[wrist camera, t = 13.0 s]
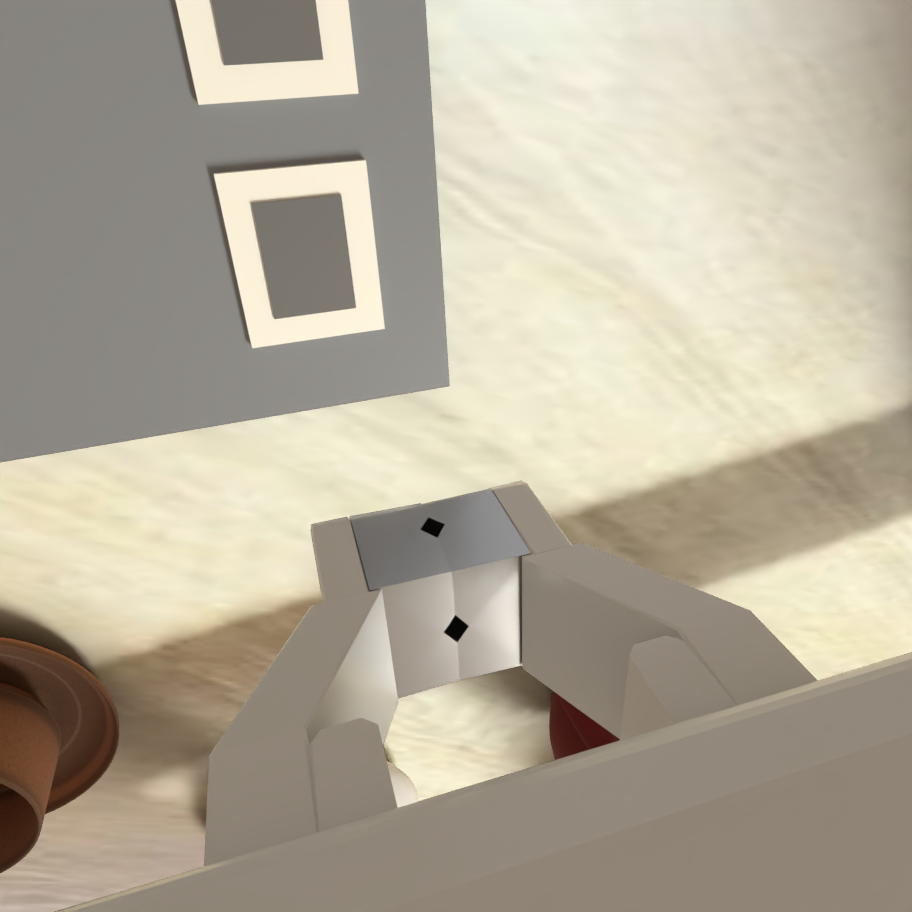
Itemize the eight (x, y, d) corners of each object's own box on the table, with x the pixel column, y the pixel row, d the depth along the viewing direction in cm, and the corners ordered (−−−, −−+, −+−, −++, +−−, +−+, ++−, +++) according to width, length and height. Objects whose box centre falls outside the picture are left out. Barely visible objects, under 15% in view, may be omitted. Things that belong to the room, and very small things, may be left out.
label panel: (378, -513, 17) (454, -818, 11) (440, 373, 29) (491, 447, 24) (-522, -626, 13) (-1120, -1181, 7) (-15, 447, 26) (-88, 558, 20)
